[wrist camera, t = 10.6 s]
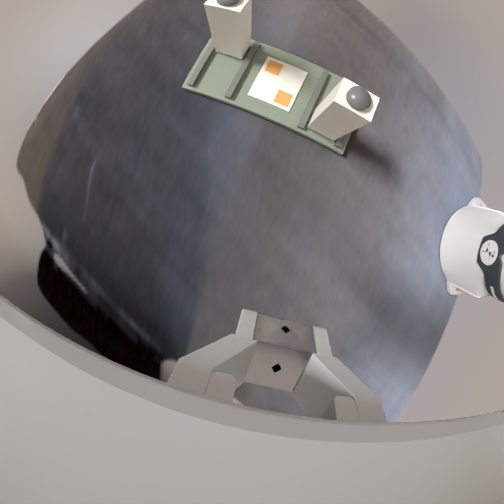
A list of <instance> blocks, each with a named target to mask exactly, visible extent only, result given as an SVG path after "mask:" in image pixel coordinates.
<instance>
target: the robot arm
mask: <svg viewBox="0 0 504 504" xmlns="http://www.w3.org/2000/svg"><path fill="white" fill-rule="evenodd" d="M440 261H441V267H442V270H443V273H444V275H445V277H446V280H447V291H448V293H449V294H451V295H463V294H470V295H472V296H474V297H476V298H480V297H486V296H490V295H491V296H493V297H494V298H495V299H497V300H499V301H502V302H504V213H503V212H500V211H497V210H493V209H489V208H488V207H487V206H486V205H485V204H484V202H483V201H482V200H481V199H480V198H477V197H474V198H473V199H472V200H471V201H470V202H469V204H468V205H467V206H465V207H463V208H461V209H459V210H458V211H456V212H455V213H454V214H453V215H452V217H451V218H450V220H449V221H448V223H447V225H446V227H445V230H444V233H443V236H442V240H441V246H440ZM243 382H249V383H254V384H259V385H264V386H269V387H273V388H278V389H282V390H287V391H292V393H293V395H294V396H295V398H296V400H297V401H298V403H299V404H300V406H301V408H302V409H303V411H304V412H305V414H306V416H307V417H304V416H297V415H291V414H284V413H278V412H273V411H268V410H262V409H258V408H253V407H248V406H244V405H240V404H235V403H232V401H233V396H234V391H235V389H236V388H238V387H239V386H240V385H241V384H242V383H243ZM0 504H504V410H502V411H498V412H494V413H488V414H483V415H477V416H471V417H464V418H456V419H447V420H437V421H424V422H399V423H398V422H393V423H388V422H387V420H386V416H385V413H384V410H383V406H382V403H381V400H380V398H379V397H378V396H377V395H375V394H374V393H373V392H372V391H371V390H370V389H369V388H368V387H367V386H366V385H365V384H364V383H363V382H362V381H361V380H360V379H358V378H357V377H356V376H355V375H354V374H353V373H352V372H351V371H350V370H349V369H348V368H347V367H346V366H345V365H344V364H343V363H342V362H341V361H340V360H339V359H337V358H336V357H333V356H332V352H331V347H330V343H329V339H328V334H327V330H326V329H325V328H321V327H316V326H310V325H305V324H301V323H296V322H291V321H286V320H284V319H280V318H276V317H273V316H269V315H265V314H262V313H258V312H255V311H251V310H247V309H242V312H241V316H240V319H239V323H238V327H237V330H236V334H235V335H234V334H230V335H228V336H226V337H224V338H222V339H220V340H218V341H216V342H213V343H211V344H209V345H207V346H205V347H203V348H201V349H199V350H197V351H194V352H192V353H190V354H188V355H186V356H184V357H181V358H179V360H178V362H177V364H176V366H175V368H174V370H173V372H172V375H171V376H170V378H169V380H168V382H167V383H165V382H163V381H160V380H157V379H154V378H152V377H149V376H147V375H144V374H142V373H139V372H137V371H134V370H132V369H129V368H127V367H125V366H122V365H120V364H118V363H116V362H113V361H111V360H109V359H107V358H105V357H103V356H100V355H98V354H96V353H94V352H92V351H90V350H88V349H86V348H84V347H82V346H81V345H79V344H77V343H75V342H73V341H71V340H69V339H68V338H66V337H64V336H62V335H60V334H59V333H57V332H55V331H53V330H51V329H50V328H49V327H47V326H45V325H43V324H42V323H40V322H39V321H37V320H35V319H34V318H32V317H31V316H29V315H28V314H26V313H25V312H23V311H22V310H21V309H19V308H18V307H16V306H15V305H13V304H12V303H11V302H9V301H8V300H6V299H5V298H4V297H2V296H1V295H0Z"/></svg>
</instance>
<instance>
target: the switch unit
mask: <svg viewBox="0 0 504 504" xmlns="http://www.w3.org/2000/svg"><path fill="white" fill-rule="evenodd" d="M342 79H343V78H341V77H339V76H337V75H335V74H333V73H331V72H329V71H327V70H325V69H323V68H321V67H319V66H317V65H315V64H313V63H311V62H308V61H306V60H304V59H302V58H299V57H297V56H295V55H292V54H290V53H287V52H285V51H282V50H280V49H277V48H274V47H272V46H269V45H266V44H263V43H260V42H258V41H255V40H251V45H250V47H249V48H248V50H247V52H246V53H245V55H244V57H243V59H239V58H236V57H233V56H229V55H226V54H223V53H219V52H216V50H215V46H214V42H213V38H212V37H211V38H210V40H209V41H208V43H207V45H206V46H205V48H204V49H203V51H202V53H201V54H200V56H199V57H198V59H197V61H196V63H195V64H194V66H193V68H192V69H191V71H190V73H189V75H188V76H187V78H186V80H185V82H184V84H183V86H182V88H183V89H184V90H187V91H190V92H194V93H197V94H200V95H203V96H206V97H209V98H212V99H215V100H218V101H221V102H223V103H226V104H229V105H232V106H234V107H237V108H240V109H242V110H245V111H247V112H250V113H252V114H255V115H257V116H260V117H262V118H265V119H267V120H269V121H272V122H274V123H276V124H278V125H281V126H283V127H285V128H287V129H290V130H292V131H294V132H296V133H298V134H300V135H302V136H304V137H306V138H308V139H310V140H313V141H315V142H316V143H318V144H320V145H322V146H324V147H326V148H328V149H330V150H332V151H334V152H336V153H337V154H339V155H342V154H343V153H344V150H345V148H346V145H347V143H348V141H349V138H350V136H351V133H352V132H350V133H348V134H346V135H344V136H342V137H340V138H338V139H336V140H334V141H333V140H331V139H329V138H327V137H325V136H323V135H321V134H319V133H317V132H316V131H314V130H311V129H309V128H307V126H308V124H309V122H310V120H311V117H312V115H313V113H314V111H315V109H316V108H317V107H318V105H319V104H320V103H321V102H322V101H323V100H324V99H325V98H326V97H327V95H328V94H329V93H330V92H331V91H332V90H333V89H334V88H335V87H336V86H337V84H338V83H339V82H340V81H341V80H342Z"/></svg>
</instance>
